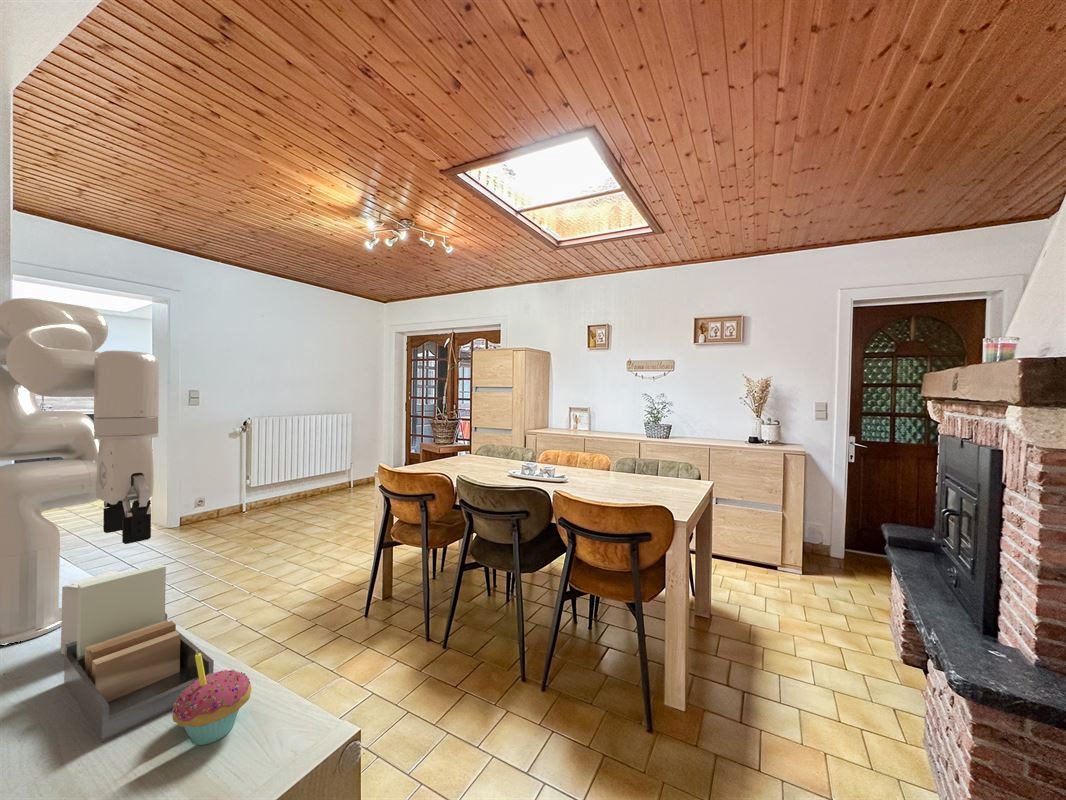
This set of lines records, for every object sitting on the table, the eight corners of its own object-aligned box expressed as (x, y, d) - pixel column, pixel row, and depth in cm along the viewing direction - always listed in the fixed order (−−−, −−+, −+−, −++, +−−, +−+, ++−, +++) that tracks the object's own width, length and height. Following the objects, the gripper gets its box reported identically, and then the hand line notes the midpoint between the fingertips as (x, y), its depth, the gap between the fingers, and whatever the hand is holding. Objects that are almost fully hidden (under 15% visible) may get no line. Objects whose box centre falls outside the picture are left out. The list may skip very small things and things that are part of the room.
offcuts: (84, 691, 63) (85, 644, 63) (166, 659, 71) (167, 617, 71) (95, 707, 60) (96, 657, 60) (179, 671, 68) (180, 627, 68)
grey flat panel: (76, 682, 65) (77, 584, 65) (159, 651, 74) (161, 563, 73) (79, 687, 64) (81, 587, 64) (164, 655, 72) (165, 566, 72)
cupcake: (187, 768, 52) (189, 670, 52) (160, 737, 57) (161, 647, 57) (262, 723, 59) (264, 637, 59) (233, 699, 64) (234, 619, 64)
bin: (63, 690, 65) (64, 644, 65) (164, 652, 75) (164, 612, 75) (101, 752, 54) (102, 696, 54) (212, 697, 64) (213, 651, 64)
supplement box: (92, 667, 71) (94, 590, 71) (58, 660, 72) (60, 585, 72) (141, 642, 78) (142, 573, 78) (109, 637, 80) (111, 569, 80)
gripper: (79, 428, 70) (79, 532, 70) (111, 432, 61) (110, 553, 61) (139, 426, 76) (139, 522, 76) (177, 429, 67) (176, 539, 67)
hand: (126, 535), depth 69 cm, fingers open, 9 cm apart
